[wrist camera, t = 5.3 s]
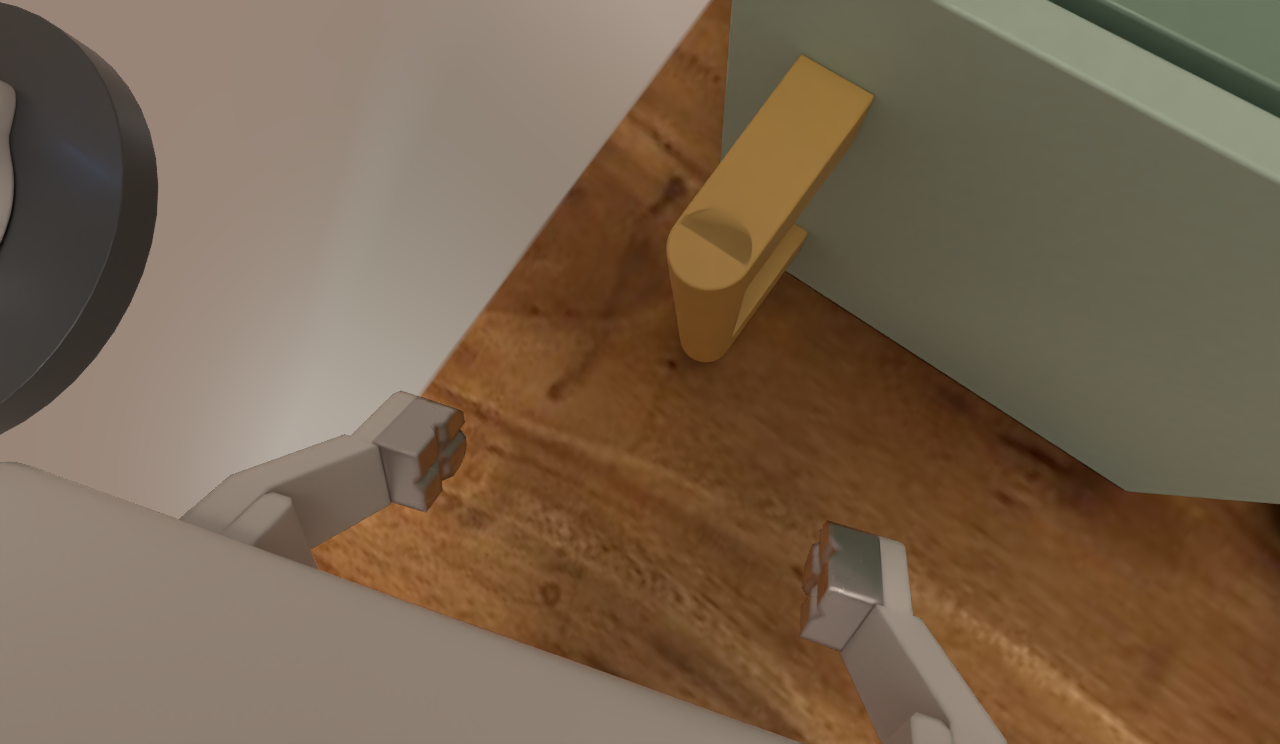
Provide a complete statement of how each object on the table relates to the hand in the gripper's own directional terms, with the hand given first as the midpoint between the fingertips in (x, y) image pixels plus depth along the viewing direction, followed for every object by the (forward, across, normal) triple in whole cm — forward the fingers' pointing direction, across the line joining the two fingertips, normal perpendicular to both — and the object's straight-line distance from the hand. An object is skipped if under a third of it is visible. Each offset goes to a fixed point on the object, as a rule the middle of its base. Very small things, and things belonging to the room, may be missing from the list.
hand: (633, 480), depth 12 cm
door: (+13, -8, +5) cm, 16 cm away
